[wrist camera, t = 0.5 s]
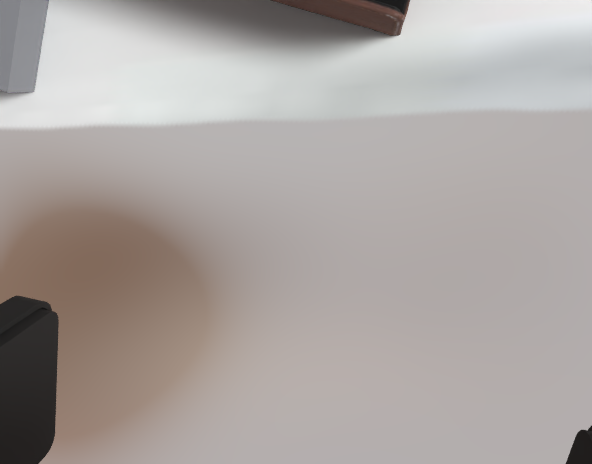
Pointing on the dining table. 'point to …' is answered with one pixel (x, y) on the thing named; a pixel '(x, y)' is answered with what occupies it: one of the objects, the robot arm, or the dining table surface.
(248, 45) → the dining table surface
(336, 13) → the letter holder
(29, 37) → the grey stepped platform
